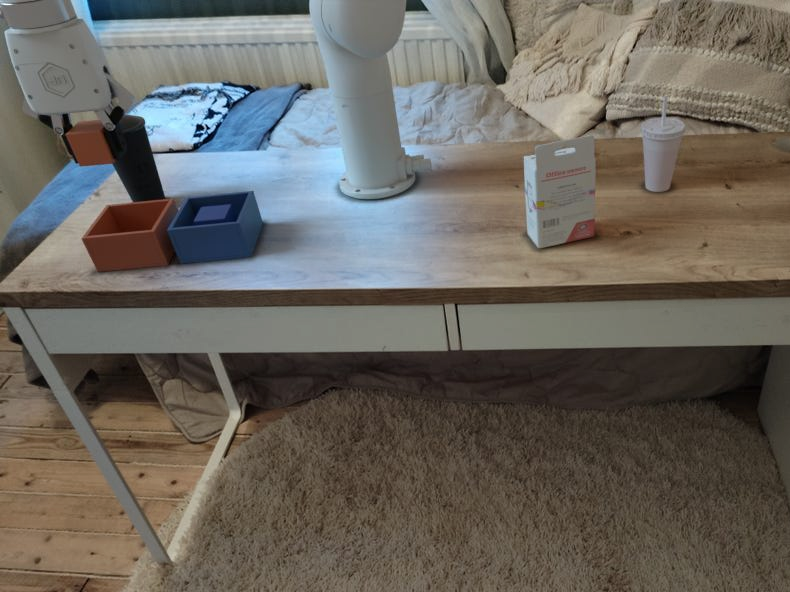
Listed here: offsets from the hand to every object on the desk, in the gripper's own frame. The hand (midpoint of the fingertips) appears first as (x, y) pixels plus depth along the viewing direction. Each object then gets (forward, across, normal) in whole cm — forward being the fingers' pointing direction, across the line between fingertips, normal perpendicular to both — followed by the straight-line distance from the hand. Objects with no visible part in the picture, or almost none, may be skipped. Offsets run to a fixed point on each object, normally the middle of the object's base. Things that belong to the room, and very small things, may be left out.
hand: (101, 156), depth 96 cm
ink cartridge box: (+15, +62, -7) cm, 64 cm away
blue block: (+14, +12, 0) cm, 19 cm away
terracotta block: (0, 0, 0) cm, 0 cm away
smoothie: (+14, +79, +5) cm, 80 cm away
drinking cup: (+15, -3, +16) cm, 22 cm away
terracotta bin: (+15, 0, 0) cm, 15 cm away
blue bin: (+15, +12, 0) cm, 19 cm away
